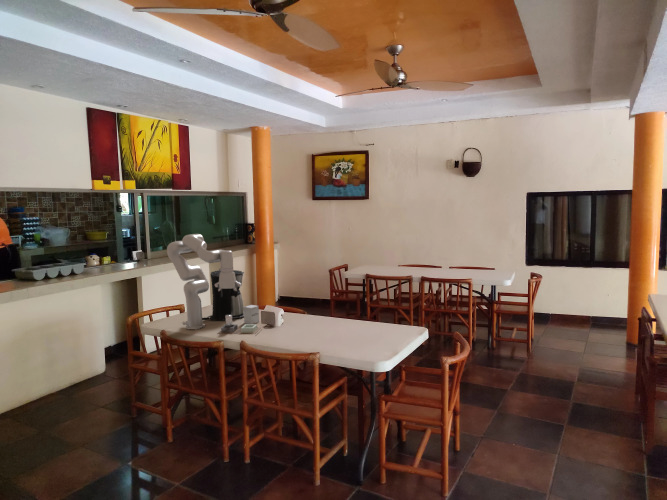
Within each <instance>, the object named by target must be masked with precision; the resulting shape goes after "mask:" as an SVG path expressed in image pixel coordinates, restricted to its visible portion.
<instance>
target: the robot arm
mask: <svg viewBox="0 0 667 500" xmlns="http://www.w3.org/2000/svg"><path fill="white" fill-rule="evenodd" d="M166 247H167V248H166V252H167V253H166V254H167V257H168V258H169V260H170V262H171V263H172V265H173V266H174V268H175V270H176V272H177V275H178V277H179V278H180V279H181V281H182V282H186V283H185V284H184V285H183V292H184V296H185V302H186V303H185V304H186V315H187V317H186V318H187V321H185V320H183V321H182V323H181V324H182V325H185V329H186V330H189V329H195V330H200V328H201V329H204V328H205V326H206V324H205V323H204V322H203V321H204V320H202V318H203V311H202V309H203V308H202V300H201V297H200V296H199V294H204V293H206V292H208V291H209V289H210V284H209V281H208V279H207V277H206V275H205V273H204V272H203V271H204V270H203V269H202V268H201V267H200V266H199V265H197V264H192V265H190V264H189V263H188V262H187V259H186V258H185V257H184V256H182V255H181V254H186V253H191V252H195V253H196V254H197V256H198V257H199V259H200V260H202V261H203V262H205V263H208V264H213V263H219V262H220V268H219V269H218V271H221V273H220V275H219V282H218V283H216V284H214V285H215V287H216V289H217V290H218V291H219V296H220V297H222V296H223V293H222V289H232V288H233V289H234V290H235V291H234V293H235V297H237V296H238V290H240V289H241V287H242V285H243V283H242V284H241V283H239V282H237V281H236V277H235V273H234V272H233V270H234V260H233V259H234V258H233V252H232V250H224V249H215V250H207V247H208V245H207V242H206V241H205V239H204V237H203V235H202V234H200V233H192V234H191V233H190V234H186V235H184V236H183V238H182V240H176V241H173V242H169V244H168V245H167V246H166ZM218 284H219V287H218ZM236 284H238V285H239V286H238V287H236Z"/></svg>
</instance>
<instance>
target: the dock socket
mask: <svg viewBox="0 0 667 500" xmlns="http://www.w3.org/2000/svg"><path fill="white" fill-rule="evenodd" d="M240 328H241V333H254V332H255V331H256V330H257V328H258V324H257V323H254V324H247V323H244V325H243V326H241V327H240Z"/></svg>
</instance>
